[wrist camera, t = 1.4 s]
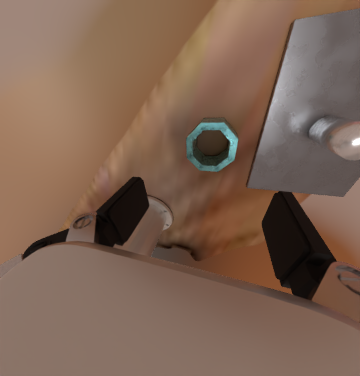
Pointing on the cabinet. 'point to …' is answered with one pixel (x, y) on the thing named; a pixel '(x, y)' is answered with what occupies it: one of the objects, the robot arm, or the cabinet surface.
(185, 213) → the cabinet surface
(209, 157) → the ring
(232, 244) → the cabinet surface
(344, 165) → the metal plate with knob
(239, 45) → the cabinet surface
